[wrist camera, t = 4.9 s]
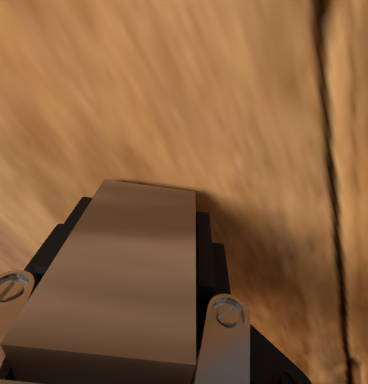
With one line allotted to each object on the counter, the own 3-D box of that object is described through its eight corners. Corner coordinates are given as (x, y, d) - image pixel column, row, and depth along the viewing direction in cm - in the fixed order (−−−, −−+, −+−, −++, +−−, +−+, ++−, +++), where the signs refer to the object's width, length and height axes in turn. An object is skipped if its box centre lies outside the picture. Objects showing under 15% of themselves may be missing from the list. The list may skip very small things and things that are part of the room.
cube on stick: (104, 179, 11) (0, 343, 5) (195, 191, 11) (196, 365, 5) (112, 387, 22) (80, 523, 16) (159, 392, 22) (145, 528, 16)
